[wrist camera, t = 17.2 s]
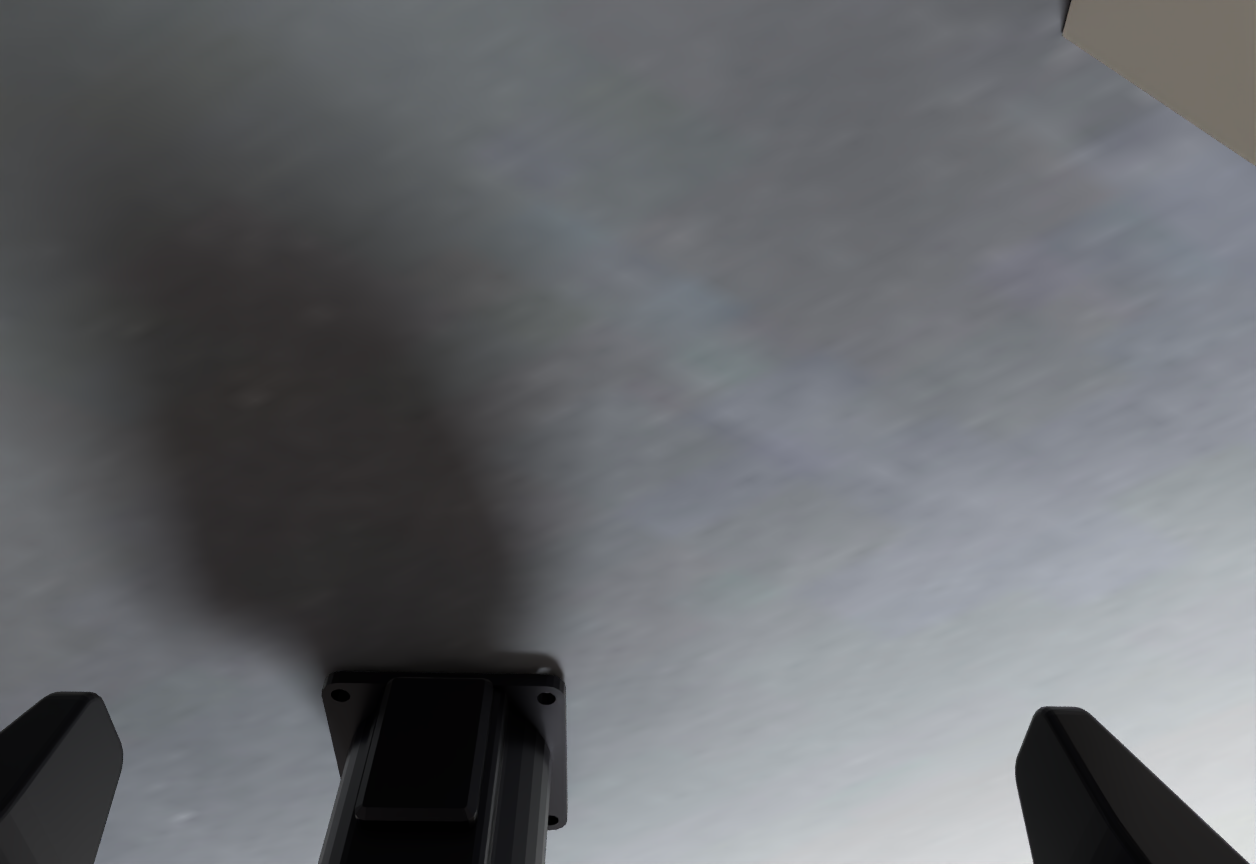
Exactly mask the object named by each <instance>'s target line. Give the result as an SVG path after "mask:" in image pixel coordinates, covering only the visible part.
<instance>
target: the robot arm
mask: <svg viewBox="0 0 1256 864" xmlns="http://www.w3.org/2000/svg"><path fill="white" fill-rule="evenodd" d="M545 692H548V693H545ZM322 698H323V703H324V707H325V712H326V716H327V720H328V725H329V729H330V733H331V738H332V742H333V747H334V751H335V755H336V760H337V764H338V769H339V773H340V777H341V781H340V785H339V788H338V792H337V796H336V799H335V803H334V807H333V810H332V814H331V818H330V821H329V825H328V829H327V832H326V836H325V840H324V843H323V847H322V851H321V854H320V858H319V862H318V864H545V854H546V840H547V830H556V829H559V828H562V827H563V826H564V825H565V824H566V822H567V810H568V805H567V736H566V686H565V683H564V682H563V681H562V680H561V679H560V678H558V677H556V676H553V675H545V674H480V673H416V672H352V671H340V672H334V673H332V674H330V675H329V676H328V677H327V678H326V680H325V683H324V686H323V689H322ZM122 764H123V749H122V745H121V742H120V739H119V737H118V735H117V732H116V730H115V727H114V725H113V723H112V720H111V718H110V716H109V713H108V711H107V708H106V706H105V704H104V701H103V700H102V698H101V697H100V696H98V695H97V694H96V693H93V692H55V693H52V694H50V695H48V696H46V697H44V698H43V699H41V700H40V701H39V702H37V703H36V704H35V705H34V706H32V707H31V708H30V709H29V710H27V711H26V712H25V713H24V714H22V715H21V716H20V717H19V718H17V719H16V720H15V721H14V722H12V723H11V724H10V725H8V726H7V727H6V728H5V729H3V730H2V731H1V732H0V864H94V861H95V858H96V854H97V851H98V848H99V844H100V841H101V838H102V834H103V831H104V827H105V824H106V821H107V817H108V814H109V811H110V807H111V804H112V800H113V797H114V794H115V790H116V787H117V784H118V780H119V777H120V773H121V769H122ZM1015 777H1016V784H1017V789H1018V794H1019V799H1020V803H1021V808H1022V813H1023V817H1024V822H1025V826H1026V831H1027V836H1028V840H1029V845H1030V850H1031V854H1032V859H1033V864H1249V863H1248V862H1247V861H1246V860H1245V859H1244V858H1243V857H1242V856H1241V855H1240V854H1239V853H1238V852H1237V851H1236V850H1234V849H1233V848H1232V847H1231V846H1230V845H1229V844H1228V843H1227V842H1226V841H1225V840H1224V839H1223V838H1222V837H1221V836H1220V835H1219V834H1217V833H1216V832H1215V831H1214V830H1213V829H1212V828H1211V827H1210V826H1209V825H1208V824H1207V823H1206V822H1205V821H1204V820H1203V819H1202V818H1200V817H1199V816H1198V815H1197V814H1196V813H1195V812H1194V811H1193V810H1192V809H1191V808H1190V807H1189V806H1188V805H1187V804H1186V803H1185V802H1183V801H1182V800H1181V799H1180V798H1179V797H1178V796H1177V795H1176V794H1175V793H1174V792H1173V791H1172V790H1171V789H1170V788H1169V787H1168V786H1166V785H1165V784H1164V783H1163V782H1162V781H1161V780H1160V779H1159V778H1158V777H1157V776H1156V775H1155V774H1154V773H1153V772H1152V771H1151V770H1149V769H1148V768H1147V767H1146V766H1145V765H1144V764H1143V763H1142V762H1141V761H1140V760H1139V759H1138V758H1137V757H1136V756H1135V755H1134V754H1132V753H1131V752H1130V751H1129V750H1128V749H1127V748H1126V747H1125V746H1124V745H1123V744H1122V743H1121V742H1120V741H1119V740H1118V739H1116V738H1115V737H1114V736H1113V735H1112V734H1111V733H1110V732H1109V731H1108V730H1107V729H1106V728H1105V727H1104V726H1103V725H1102V724H1101V723H1099V722H1098V721H1097V720H1096V719H1095V718H1094V717H1093V716H1092V715H1091V714H1090V713H1088V712H1087V711H1085V710H1083V709H1081V708H1078V707H1055V706H1046V707H1041V708H1040V709H1038V710H1037V711H1036V712H1035V714H1034V716H1033V718H1032V720H1031V723H1030V725H1029V728H1028V730H1027V733H1026V735H1025V738H1024V740H1023V743H1022V746H1021V748H1020V751H1019V753H1018V756H1017V759H1016V765H1015Z"/></svg>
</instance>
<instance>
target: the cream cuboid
mask: <svg viewBox="0 0 1256 864" xmlns="http://www.w3.org/2000/svg"><path fill="white" fill-rule="evenodd" d="M1062 36H1063V37H1065V38H1066V39H1068V40H1069V41H1070V42H1072V43H1073V44H1075V45H1076V46H1078V47H1079V48H1081V49H1082V50H1084V51H1085V52H1087V53H1088V54H1090V55H1091V56H1093V57H1094V58H1096V59H1097V60H1099V61H1100V62H1102V63H1103V64H1105V65H1106V66H1108V67H1109V68H1111V69H1112V70H1114V71H1115V72H1117V73H1118V74H1119V75H1121V76H1122V77H1124V78H1125V79H1127V80H1128V81H1130V82H1131V83H1133V84H1134V85H1136V86H1137V87H1139V88H1140V89H1142V90H1143V91H1145V92H1146V93H1148V94H1149V95H1151V96H1152V97H1154V98H1155V99H1157V100H1158V101H1160V102H1161V103H1163V104H1164V105H1166V106H1167V107H1169V108H1170V109H1171V110H1173V111H1174V112H1176V113H1177V114H1179V115H1180V116H1182V117H1183V118H1185V119H1186V120H1188V121H1189V122H1191V123H1192V124H1194V125H1195V126H1197V127H1198V128H1200V129H1201V130H1203V131H1204V132H1206V133H1207V134H1209V135H1210V136H1212V137H1213V138H1215V139H1216V140H1218V141H1219V142H1221V143H1222V144H1223V145H1225V146H1226V147H1228V148H1229V149H1231V150H1232V151H1234V152H1235V153H1237V154H1238V155H1240V156H1241V157H1243V158H1244V159H1246V160H1247V161H1249V162H1250V163H1252V164H1253V165H1255V166H1256V0H1071V4H1070V8H1069V12H1068V15H1067V19H1066V23H1065V27H1064V30H1063V34H1062Z"/></svg>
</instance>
